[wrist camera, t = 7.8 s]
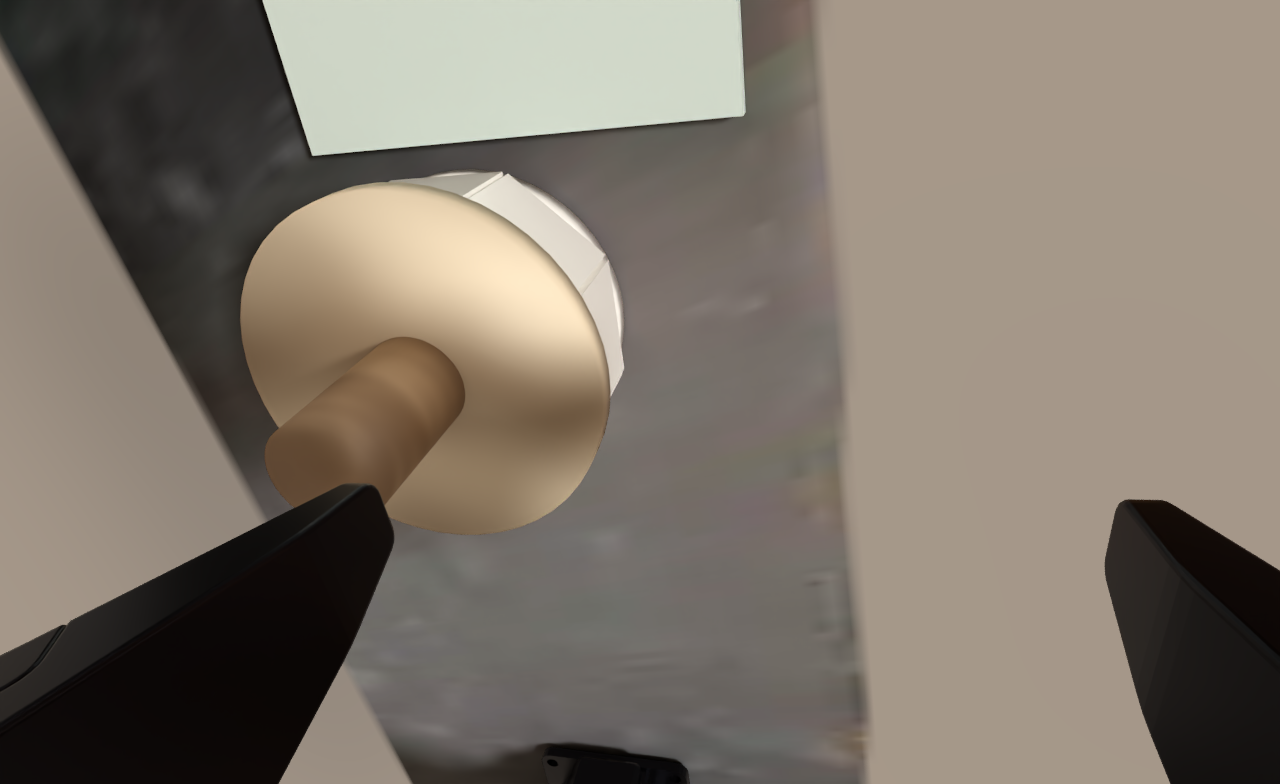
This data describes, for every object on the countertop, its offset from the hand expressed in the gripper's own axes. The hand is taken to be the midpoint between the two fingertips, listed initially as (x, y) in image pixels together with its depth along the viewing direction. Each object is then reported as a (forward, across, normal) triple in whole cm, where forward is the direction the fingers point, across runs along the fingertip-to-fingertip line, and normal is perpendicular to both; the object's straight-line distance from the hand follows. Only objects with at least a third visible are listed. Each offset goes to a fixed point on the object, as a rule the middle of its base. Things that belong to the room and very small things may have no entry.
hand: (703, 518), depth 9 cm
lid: (+8, +8, +2) cm, 12 cm away
